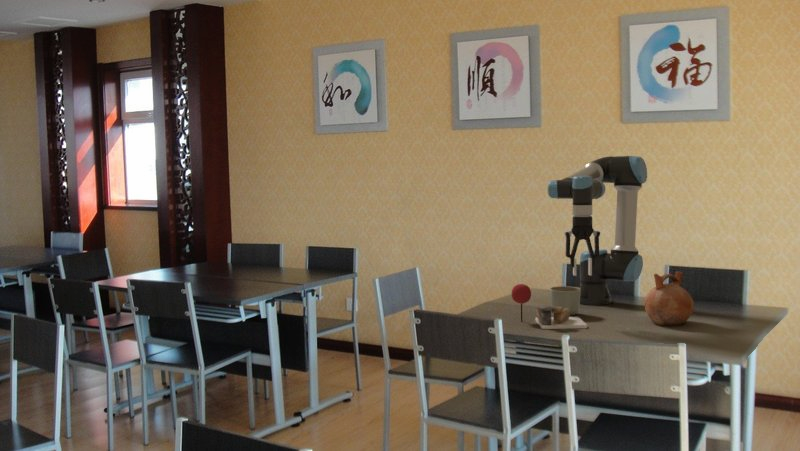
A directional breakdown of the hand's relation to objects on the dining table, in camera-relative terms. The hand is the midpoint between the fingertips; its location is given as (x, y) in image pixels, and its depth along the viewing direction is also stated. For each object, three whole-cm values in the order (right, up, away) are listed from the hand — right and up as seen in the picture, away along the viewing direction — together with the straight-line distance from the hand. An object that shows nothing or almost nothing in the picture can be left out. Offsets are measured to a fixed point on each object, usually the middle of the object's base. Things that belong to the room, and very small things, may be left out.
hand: (582, 275), depth 319 cm
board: (-9, -19, -1) cm, 21 cm away
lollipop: (-23, -19, +6) cm, 30 cm away
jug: (+33, -19, -2) cm, 38 cm away
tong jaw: (-12, -18, -2) cm, 21 cm away
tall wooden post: (-15, -19, -1) cm, 24 cm away
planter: (-3, -18, +18) cm, 25 cm away
